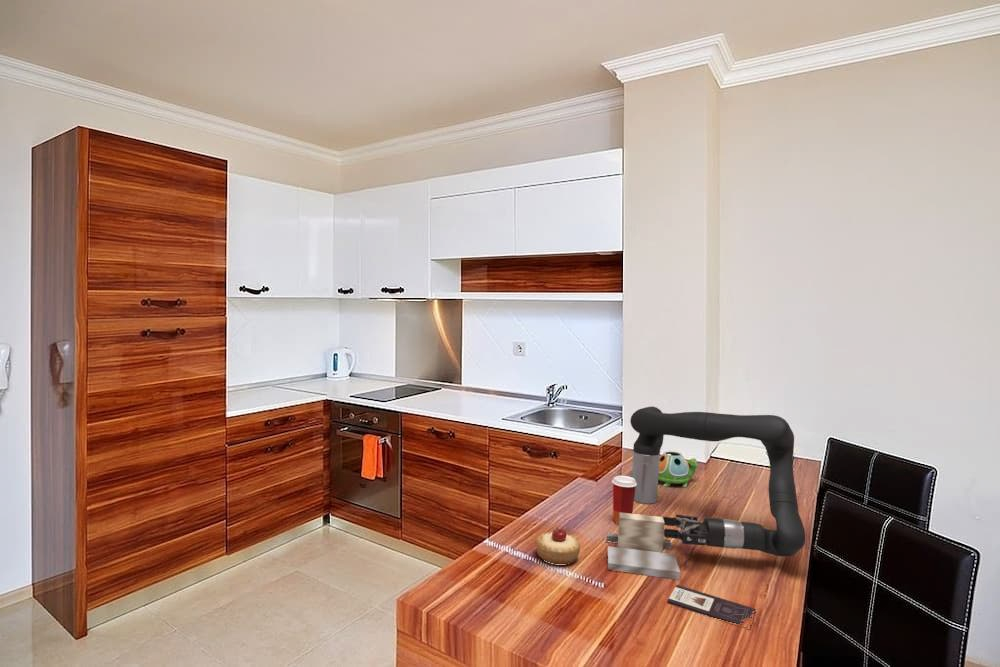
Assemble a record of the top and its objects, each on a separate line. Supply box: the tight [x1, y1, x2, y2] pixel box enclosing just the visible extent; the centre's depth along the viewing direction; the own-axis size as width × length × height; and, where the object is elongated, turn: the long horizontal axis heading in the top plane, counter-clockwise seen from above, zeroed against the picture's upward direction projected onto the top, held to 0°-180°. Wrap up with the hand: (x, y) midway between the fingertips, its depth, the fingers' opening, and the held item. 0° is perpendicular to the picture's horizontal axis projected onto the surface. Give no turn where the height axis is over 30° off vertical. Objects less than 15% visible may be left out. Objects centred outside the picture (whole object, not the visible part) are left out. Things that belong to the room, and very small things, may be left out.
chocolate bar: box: [666, 584, 757, 625], centre depth 128 cm, size 9×1×18 cm
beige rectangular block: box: [617, 513, 665, 553], centre depth 155 cm, size 12×4×10 cm, turn 80°
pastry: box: [535, 527, 581, 564], centre depth 149 cm, size 12×12×9 cm
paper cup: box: [611, 475, 637, 523], centre depth 175 cm, size 8×8×14 cm
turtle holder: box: [658, 450, 699, 489], centre depth 216 cm, size 12×18×12 cm
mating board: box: [606, 532, 681, 581], centre depth 151 cm, size 18×19×2 cm
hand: (662, 526), depth 153 cm, fingers open, 8 cm apart
